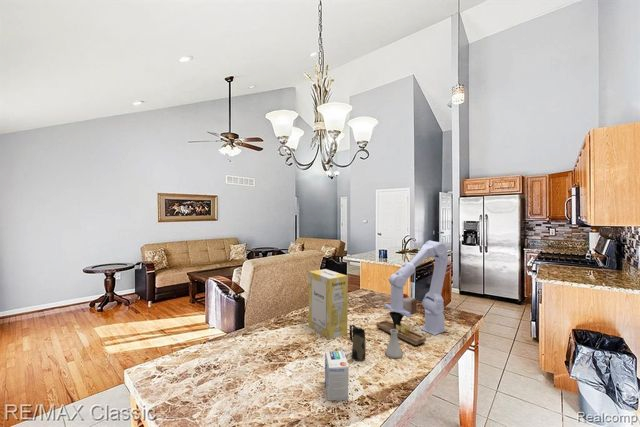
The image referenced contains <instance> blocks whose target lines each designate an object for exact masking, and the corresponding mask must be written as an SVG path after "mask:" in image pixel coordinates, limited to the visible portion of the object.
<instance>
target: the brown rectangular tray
mask: <svg viewBox="0 0 640 427" xmlns="http://www.w3.org/2000/svg"><path fill="white" fill-rule="evenodd" d="M375 324H376V327H377V328H378V329H381V330H383V331H385V332H387V333H390V334H391V332H390V330H391V329H395V330H396V328H394V324H393V321H389V320H387V319H384V320H381V321H379V322H376V323H375ZM397 337H398V339H402V340H404V341H406V342H408V343H410V344H412V345H415V346H417V345H420V344H422V343H425V342H427V341H426V340H427V338H426V336H423V335H421V334H419V333H417V332H414V331H412V330H411V329H410V334H408V335H404V334H402V333H399V332H398V333H397Z"/></svg>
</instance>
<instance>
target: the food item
mask: <svg viewBox="0 0 640 427" xmlns="http://www.w3.org/2000/svg"><path fill="white" fill-rule="evenodd" d="M417 303H418V302H417V298H414V297H411V296H409V295H408V293H403V309H405V310H406V311H408V312H410V315H414V314H416V313H417V312H418V310H417V309H418V308H417V305H418V304H417Z"/></svg>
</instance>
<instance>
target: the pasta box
mask: <svg viewBox="0 0 640 427" xmlns="http://www.w3.org/2000/svg"><path fill="white" fill-rule="evenodd" d="M348 277H349V276H348V275H346V274H343V273H339V272H337V271H333V270H330V269H327V268H324V269H317V270H309V271H308V327H310V328H312V330H315V331H316V332H317V333H319V334H320V335H322V336H324V337H325V338H327V339H328V340H332V339H335V338H338V337H341V336H344V335H347V334H348V305H349V304H348V297H349V296H348V293H349V291H348V288H349V287H348V286H349V284H348V282H349V278H348Z"/></svg>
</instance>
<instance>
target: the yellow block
mask: <svg viewBox="0 0 640 427" xmlns="http://www.w3.org/2000/svg"><path fill="white" fill-rule="evenodd" d="M396 330H397V331H398V332H399V333H402V334H404V335H408V334H410V330H411V325H409V324H406V323H403V322H400V323H399V324H396Z"/></svg>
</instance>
